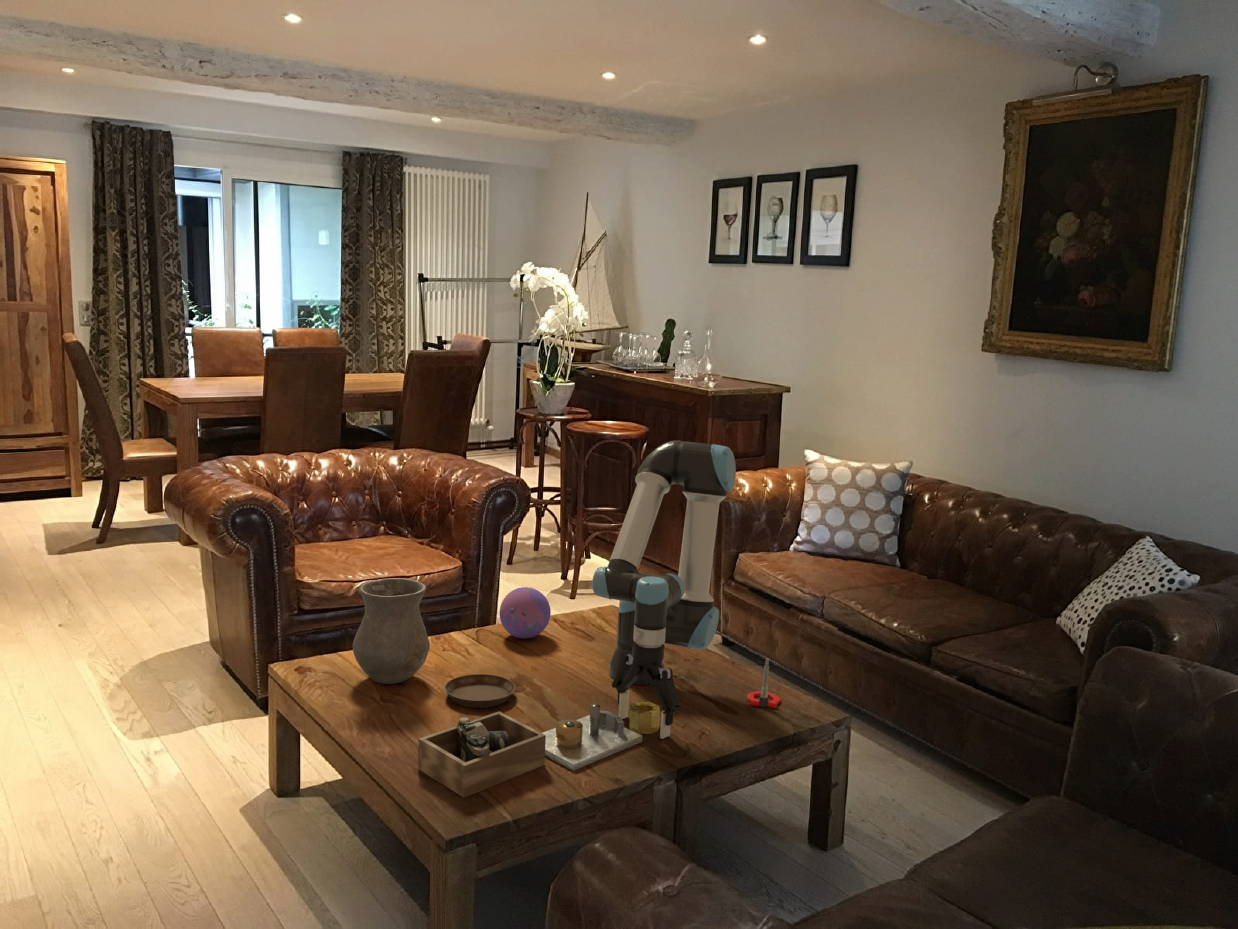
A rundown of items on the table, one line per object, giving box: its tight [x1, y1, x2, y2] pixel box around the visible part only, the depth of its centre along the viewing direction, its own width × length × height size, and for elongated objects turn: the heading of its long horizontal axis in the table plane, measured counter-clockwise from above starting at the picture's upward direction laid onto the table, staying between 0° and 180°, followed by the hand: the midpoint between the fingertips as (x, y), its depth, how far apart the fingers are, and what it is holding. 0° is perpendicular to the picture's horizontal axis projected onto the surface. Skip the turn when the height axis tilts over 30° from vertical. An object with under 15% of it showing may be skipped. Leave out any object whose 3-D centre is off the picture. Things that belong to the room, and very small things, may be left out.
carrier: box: [542, 703, 643, 771], centre depth 234 cm, size 16×22×8 cm
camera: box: [456, 716, 511, 762], centre depth 220 cm, size 16×10×10 cm, turn 25°
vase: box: [352, 577, 431, 685], centre depth 263 cm, size 20×19×25 cm
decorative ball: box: [499, 586, 552, 640], centre depth 301 cm, size 15×15×15 cm
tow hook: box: [746, 657, 781, 709], centre depth 264 cm, size 8×13×9 cm
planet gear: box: [628, 701, 661, 735], centre depth 244 cm, size 7×7×5 cm
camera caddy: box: [417, 711, 546, 798], centre depth 221 cm, size 16×22×7 cm
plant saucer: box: [444, 673, 516, 709], centre depth 258 cm, size 18×18×3 cm
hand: (643, 727), depth 245 cm, fingers open, 13 cm apart
